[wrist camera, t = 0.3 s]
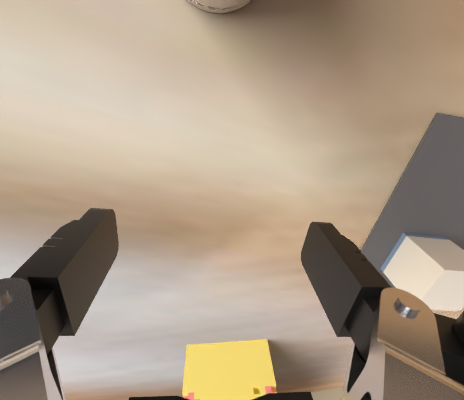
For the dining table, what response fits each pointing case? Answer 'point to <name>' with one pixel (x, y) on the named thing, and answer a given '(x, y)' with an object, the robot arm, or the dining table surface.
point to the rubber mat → (425, 193)
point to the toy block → (228, 371)
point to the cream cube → (428, 270)
